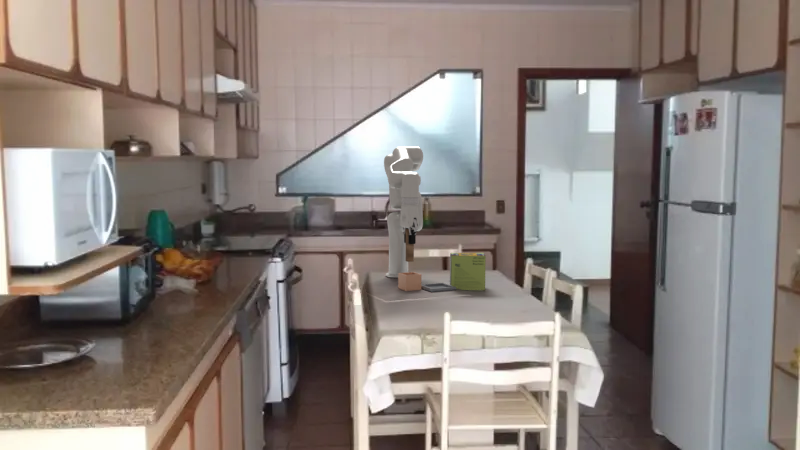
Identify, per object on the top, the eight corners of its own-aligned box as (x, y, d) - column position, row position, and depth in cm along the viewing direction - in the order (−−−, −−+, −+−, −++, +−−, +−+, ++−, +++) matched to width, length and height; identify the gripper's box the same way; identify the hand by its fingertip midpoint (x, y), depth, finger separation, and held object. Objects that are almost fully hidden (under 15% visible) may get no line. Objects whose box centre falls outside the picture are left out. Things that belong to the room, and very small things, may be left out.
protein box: (485, 290, 320) (486, 255, 319) (450, 290, 321) (451, 255, 319) (483, 286, 331) (483, 252, 330) (449, 286, 331) (449, 252, 330)
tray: (418, 289, 322) (418, 284, 322) (442, 287, 327) (442, 282, 327) (431, 293, 312) (431, 288, 311) (455, 291, 317) (455, 286, 316)
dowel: (404, 260, 320) (404, 229, 318) (411, 260, 321) (411, 228, 320) (407, 261, 316) (407, 229, 315) (415, 261, 318) (415, 229, 316)
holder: (398, 289, 321) (398, 272, 321) (413, 288, 324) (413, 271, 324) (405, 292, 314) (405, 275, 314) (421, 291, 318) (421, 274, 317)
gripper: (394, 200, 322) (394, 241, 324) (410, 203, 307) (410, 246, 309) (409, 199, 325) (409, 240, 327) (426, 202, 310) (426, 245, 312)
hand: (409, 242), depth 318 cm, fingers closed on dowel, 3 cm apart
